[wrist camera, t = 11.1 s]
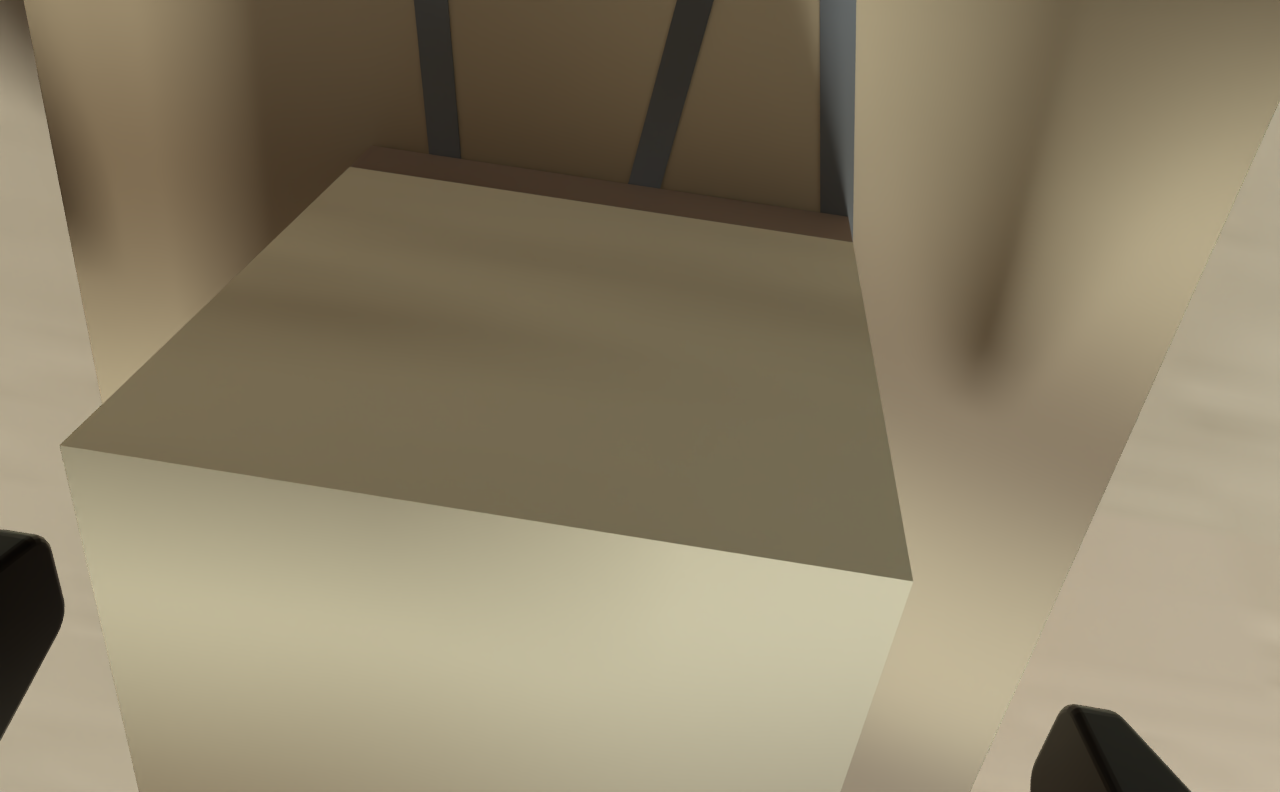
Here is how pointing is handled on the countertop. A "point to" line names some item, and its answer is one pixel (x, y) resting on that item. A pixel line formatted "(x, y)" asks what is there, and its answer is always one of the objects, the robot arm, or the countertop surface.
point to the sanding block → (503, 499)
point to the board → (753, 172)
